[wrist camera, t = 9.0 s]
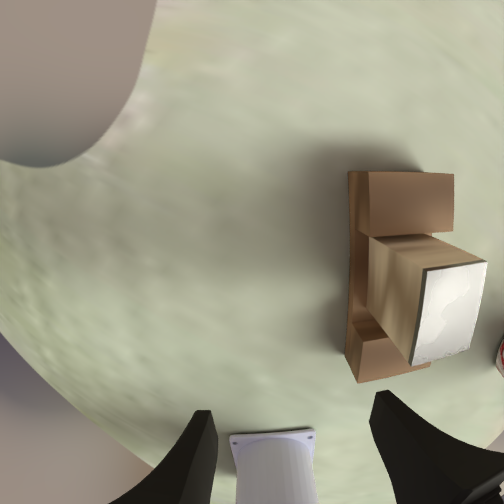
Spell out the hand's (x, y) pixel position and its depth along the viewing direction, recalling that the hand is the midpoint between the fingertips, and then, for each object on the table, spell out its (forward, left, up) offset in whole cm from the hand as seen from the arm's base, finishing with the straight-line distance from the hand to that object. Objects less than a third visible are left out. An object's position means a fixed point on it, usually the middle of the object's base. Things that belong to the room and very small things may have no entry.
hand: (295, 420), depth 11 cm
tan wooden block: (+3, -8, -8) cm, 12 cm away
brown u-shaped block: (+3, -8, -9) cm, 13 cm away
